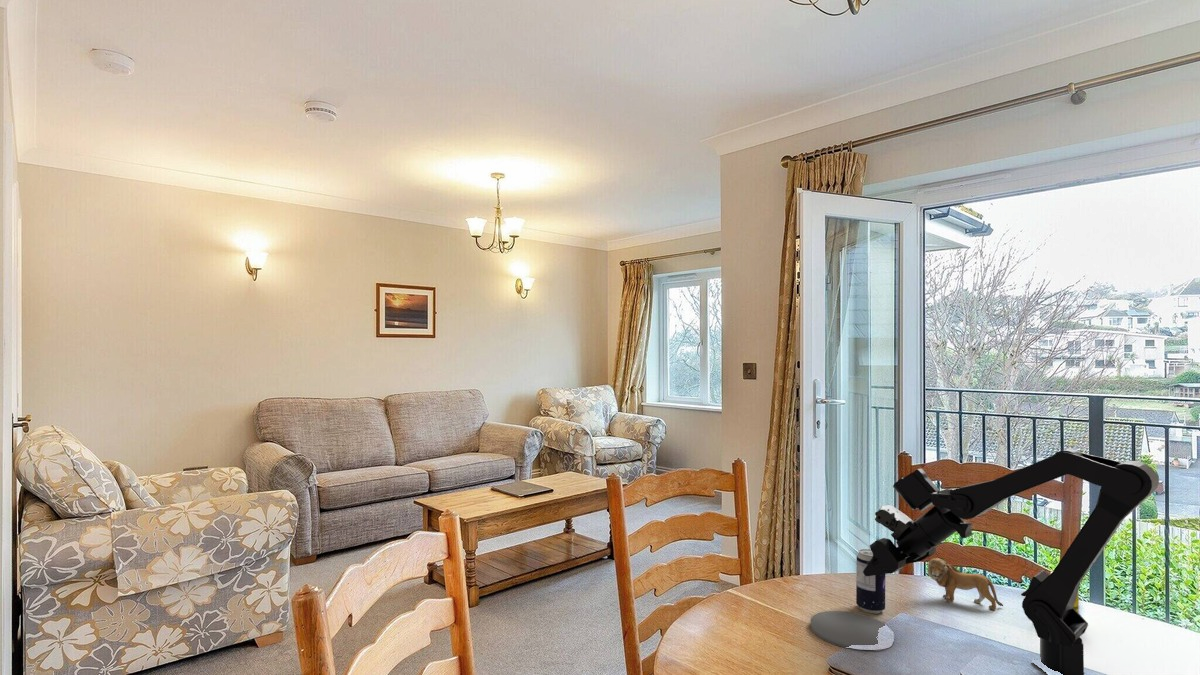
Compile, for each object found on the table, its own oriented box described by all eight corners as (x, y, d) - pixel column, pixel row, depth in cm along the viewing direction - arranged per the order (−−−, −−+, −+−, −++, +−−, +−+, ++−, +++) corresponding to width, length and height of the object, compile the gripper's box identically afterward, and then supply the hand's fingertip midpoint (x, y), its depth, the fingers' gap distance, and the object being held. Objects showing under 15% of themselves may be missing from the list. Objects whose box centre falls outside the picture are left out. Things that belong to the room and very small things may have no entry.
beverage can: (888, 616, 126) (888, 557, 127) (859, 613, 127) (859, 555, 128) (881, 605, 132) (881, 549, 132) (853, 603, 133) (854, 547, 133)
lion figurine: (929, 601, 135) (929, 560, 135) (925, 593, 140) (925, 554, 140) (1006, 612, 130) (1006, 570, 130) (999, 603, 135) (999, 562, 135)
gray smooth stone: (907, 654, 109) (907, 647, 110) (821, 647, 111) (821, 641, 111) (878, 619, 124) (878, 613, 124) (803, 614, 126) (803, 608, 126)
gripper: (920, 490, 132) (870, 529, 140) (880, 501, 120) (827, 543, 128) (960, 535, 125) (904, 574, 133) (921, 551, 113) (863, 593, 122)
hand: (875, 569), depth 129 cm, fingers open, 9 cm apart
